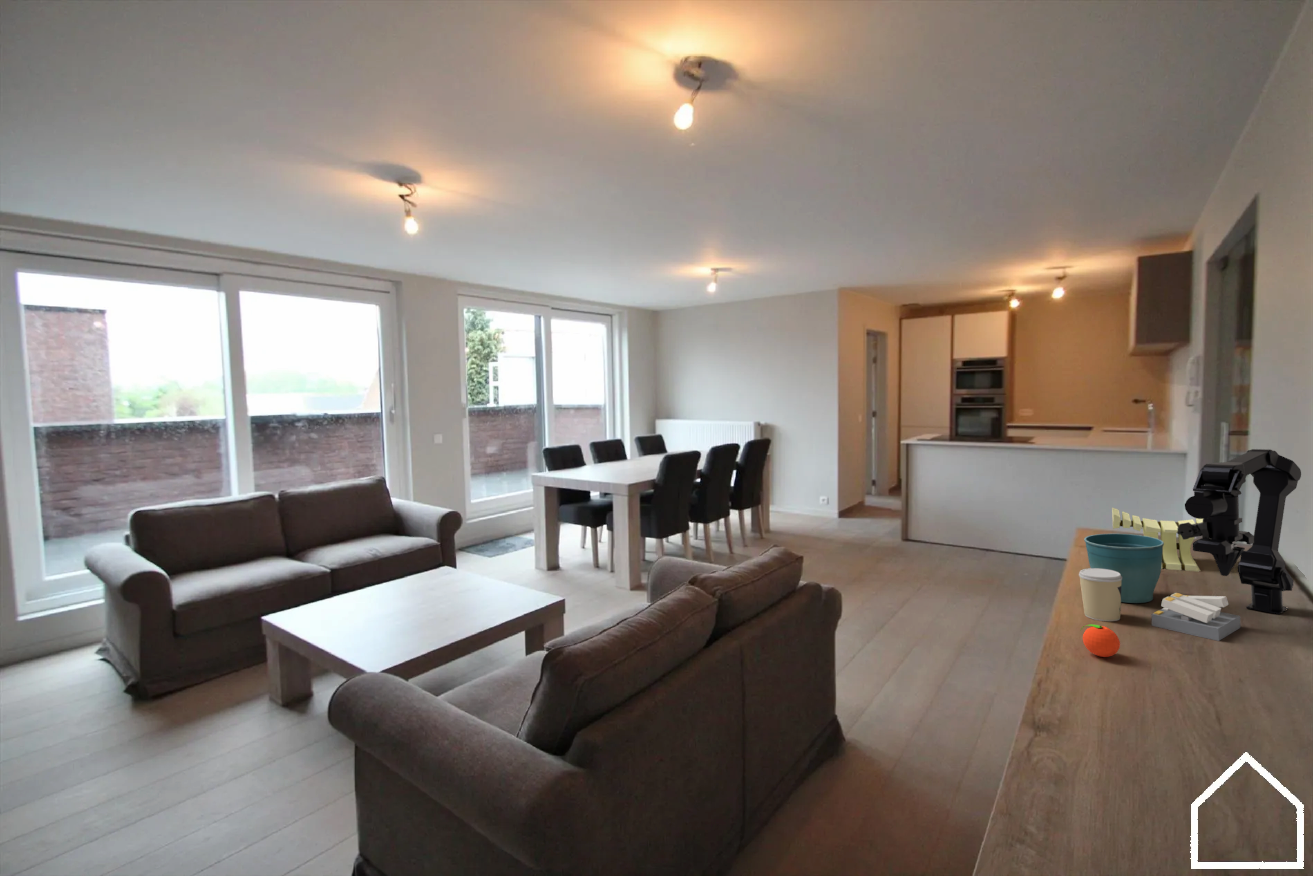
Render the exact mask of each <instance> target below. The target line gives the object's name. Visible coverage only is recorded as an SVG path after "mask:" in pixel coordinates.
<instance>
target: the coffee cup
mask: <svg viewBox="0 0 1313 876" xmlns="http://www.w3.org/2000/svg"><path fill="white" fill-rule="evenodd" d="M1078 577H1079V583H1080V589H1081V599H1082V606H1083V612H1084V615H1085V617H1087V618H1089V619H1092V620H1095V621H1101V622H1117V621H1120V619H1121V611H1122V609H1121V608H1122V602H1121V580H1122V576H1121V574H1120V573H1118V572H1116V571H1113V570H1108V569H1099V568H1090V567H1088V568H1084V569H1081V570H1079V572H1078Z"/></svg>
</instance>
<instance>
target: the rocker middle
mask: <svg viewBox="0 0 1313 876" xmlns="http://www.w3.org/2000/svg"><path fill="white" fill-rule="evenodd" d="M1184 595H1185V594H1181V593H1179V592H1174V593H1172V594H1171V595H1170V596H1169V597H1172V598H1175V599H1177V600H1180V601H1182V602H1185V603H1188V604H1191V605H1194V606H1197V607H1199V608H1202V609H1205V610H1208V611H1211V612H1213V617H1212V618H1216V617H1218V616H1219V615H1220V612H1222V607H1216V606H1213V605H1210V604H1207V603H1205V602H1202V601H1199V600H1196V599H1193V598H1190V597H1187V596H1184Z"/></svg>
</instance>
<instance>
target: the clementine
mask: <svg viewBox="0 0 1313 876" xmlns="http://www.w3.org/2000/svg"><path fill="white" fill-rule="evenodd" d="M1087 626H1088V628H1086V629H1085V631H1084V633H1083V634H1082V642H1083V645H1084V646H1085V648H1086V649H1087V650H1088V651H1089V652H1090V653H1091V654H1093V655H1095V656H1098V657H1101V658H1102V657H1103V658H1109V657H1112V656H1114V655H1116V654H1118V651H1119V649H1120V648H1121V641H1120V638H1119V637H1118V635H1117V634H1116V633H1115V632H1114V630H1112V629H1110V628H1109V627H1108V626H1104V625H1098V624H1094V623H1093V624H1086V625H1084V626H1082V627H1081V629H1080V631H1082V630H1083V628H1084V627H1087Z"/></svg>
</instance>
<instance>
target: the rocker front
mask: <svg viewBox="0 0 1313 876" xmlns="http://www.w3.org/2000/svg"><path fill="white" fill-rule="evenodd" d="M1160 606H1161V607H1163V608H1164V607H1165V608H1167V609H1170V610H1173V611H1175V612H1178V613H1181V614H1184V615H1186V616H1189V617H1192V618H1194V619H1197V620H1200V621H1202V622H1205V623H1207V622H1209V621H1211V620H1212V617H1213V612H1211V611H1208V610H1205V609H1202V608H1199V607H1197V606H1194V605H1191V604H1188V603H1185V602H1182V601H1180V600H1177V599H1175V598H1172V597H1170V596H1166V597H1163V598H1162V601H1161V605H1160Z"/></svg>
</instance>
